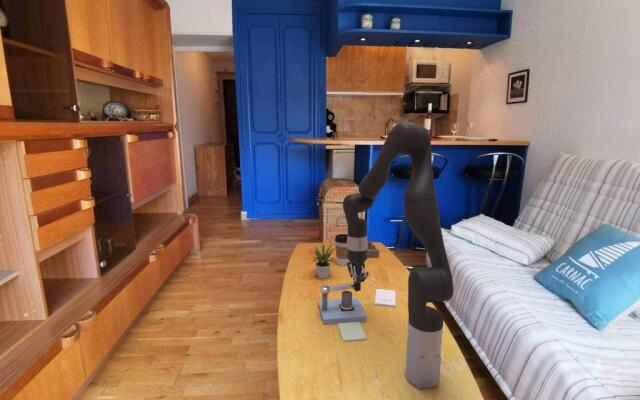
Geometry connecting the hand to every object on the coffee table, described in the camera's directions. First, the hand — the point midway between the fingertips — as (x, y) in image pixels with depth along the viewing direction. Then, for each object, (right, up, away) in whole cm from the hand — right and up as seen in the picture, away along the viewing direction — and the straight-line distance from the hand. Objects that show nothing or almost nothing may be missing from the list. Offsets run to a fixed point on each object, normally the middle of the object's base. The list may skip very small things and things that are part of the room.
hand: (357, 290), depth 132 cm
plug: (-4, -9, +2) cm, 10 cm away
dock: (-6, -9, +2) cm, 11 cm away
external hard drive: (+13, -7, +13) cm, 20 cm away
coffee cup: (-2, +1, +49) cm, 49 cm away
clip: (-6, 0, +1) cm, 6 cm away
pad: (-3, -12, -10) cm, 16 cm away
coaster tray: (+10, +5, +62) cm, 63 cm away
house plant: (-11, -2, +34) cm, 36 cm away
